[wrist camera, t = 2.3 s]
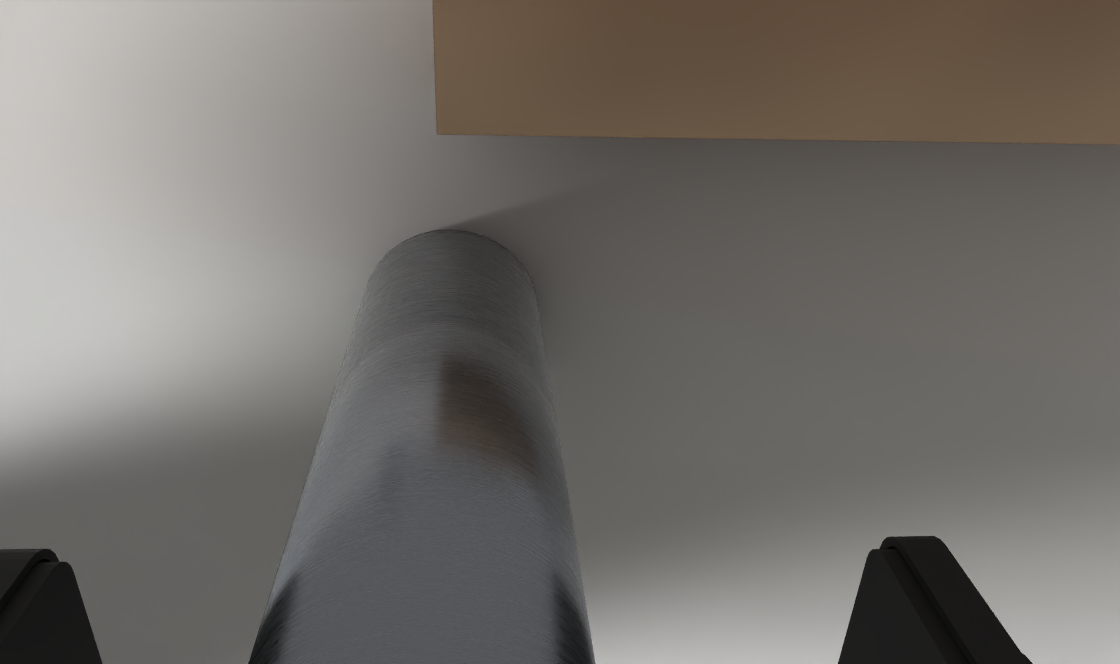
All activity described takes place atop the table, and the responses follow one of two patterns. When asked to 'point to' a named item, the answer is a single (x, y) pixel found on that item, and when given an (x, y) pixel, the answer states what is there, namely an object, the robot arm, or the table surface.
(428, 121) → the table surface
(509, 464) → the peg
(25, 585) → the robot arm
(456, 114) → the socket
